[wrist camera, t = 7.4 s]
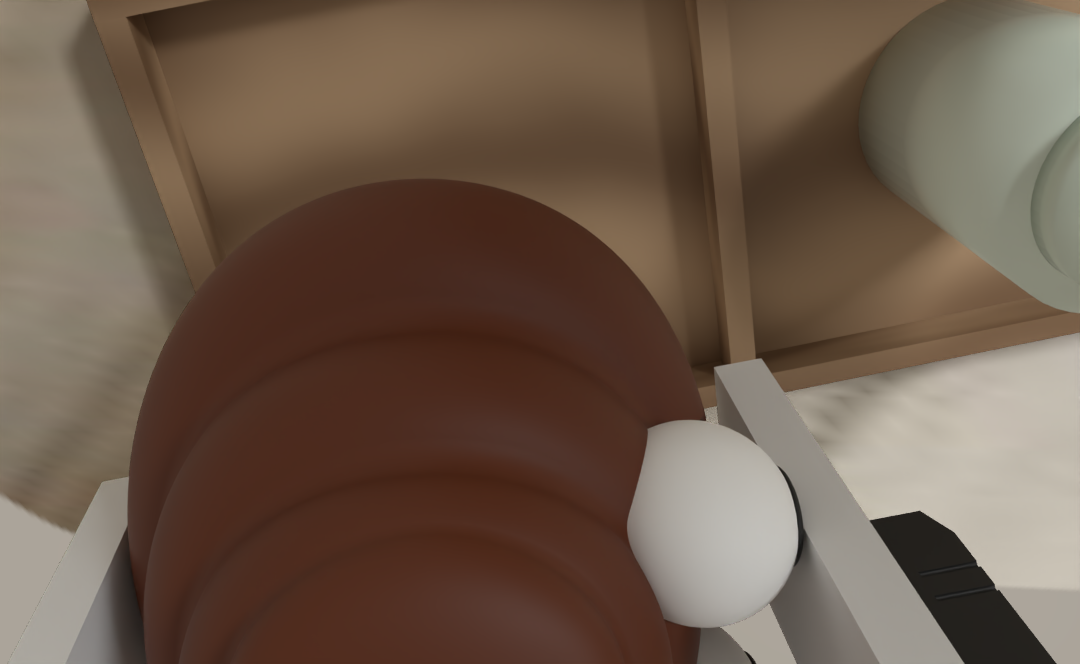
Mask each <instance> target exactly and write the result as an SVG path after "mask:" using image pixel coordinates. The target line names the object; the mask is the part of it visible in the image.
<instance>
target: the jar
mask: <svg viewBox="0 0 1080 664" xmlns="http://www.w3.org/2000/svg"><path fill="white" fill-rule="evenodd" d="M858 127H859V138H860V143H861V147H862V151H863V154H864V156H865V159H866V161H867V164H868V165H869V167H870V169H871V170H872V172H873V174H874V175H875V176H876V177H877V179H878V180H879V181H880V182H881V183H882V184H883V185H884V186H885V187H886V188H887V189H889V190H890V191H891V192H892V193H894V194H895V195H897V196H898V197H899V198H901V199H902V200H903V201H905V202H906V203H907V204H909V205H910V206H911V207H913V208H914V209H915V210H917V211H918V212H919V213H921V214H922V215H923V216H925V217H926V218H927V219H929V220H930V221H932V222H933V223H934V224H936V225H937V226H938V227H940V228H941V229H942V230H944V231H945V232H946V233H948V234H949V235H950V236H952V237H953V238H954V239H956V240H957V241H958V242H960V243H961V244H962V245H964V246H965V247H967V248H968V249H969V250H971V251H972V252H973V253H975V254H976V255H977V256H979V257H980V258H981V259H983V260H984V261H985V262H987V263H988V264H989V265H991V266H992V267H993V268H995V269H996V270H997V271H999V272H1000V273H1002V274H1003V275H1004V276H1006V277H1007V278H1008V279H1010V280H1011V281H1012V282H1014V283H1015V284H1016V285H1018V286H1019V287H1020V288H1022V289H1023V290H1024V291H1026V292H1027V293H1028V294H1030V295H1031V296H1033V297H1034V298H1036V299H1038V300H1039V301H1041V302H1042V303H1044V304H1047V305H1049V306H1051V307H1054V308H1056V309H1060V310H1064V311H1068V312H1073V313H1080V14H1077V13H1073V12H1069V11H1065V10H1061V9H1057V8H1053V7H1049V6H1045V5H1041V4H1037V3H1034V2H1030V1H1026V0H947V1H945V2H942V3H940V4H937V5H935V6H933V7H932V8H930V9H928V10H926V11H924V12H923V13H921V14H920V15H919V16H917V17H916V18H914V19H913V20H912V21H910V22H909V23H908V24H907V25H906V26H905V27H904V28H902V29H901V30H900V31H899V32H898V33H897V34H896V35H895V37H894V38H893V39H892V40H891V41H890V42H889V43H888V44H887V46H886V47H885V49H884V50H883V51H882V53H881V54H880V56H879V57H878V59H877V61H876V63H875V64H874V66H873V68H872V70H871V72H870V74H869V77H868V79H867V81H866V84H865V87H864V91H863V94H862V97H861V103H860V109H859V123H858Z"/></svg>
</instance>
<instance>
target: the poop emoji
mask: <svg viewBox="0 0 1080 664" xmlns="http://www.w3.org/2000/svg"><path fill="white" fill-rule="evenodd" d="M127 519H128V540H129V551H130V560H131V568H132V575H133V582H134V587H135V592H136V597H137V602H138V606H139V610H140V615H141V619H142V622H143V626H144V642H145V653H146V660H147V664H756V663H755V661H754V659H753V658H752V657H751V656H750V655H749V654H748V653H747V652H745V651H743V649H742V648H741V647H740V646H739V644H738V643H737V642H736V641H735V640H734V639H733V638H732V637H731V636H730V635H729V634H728V633H727V632H725V631H724V630H723V629H722V628H720V627H722V626H727V625H731V624H734V623H737V622H740V621H743V620H745V619H747V618H749V617H751V616H753V615H755V614H756V613H757V612H759V611H761V610H762V609H763V608H764V607H765V606H767V605H768V604H769V603H770V602H771V601H772V600H773V599H774V598H775V597H776V596H777V595H778V593H779V592H780V591H781V589H782V588H783V586H784V585H785V583H786V582H787V580H788V578H789V576H790V574H791V571H792V569H793V567H795V566H796V565H797V563H798V561H799V559H800V557H801V554H802V549H803V540H804V529H803V519H802V512H801V508H800V504H799V500H798V497H797V494H796V491H795V489H794V487H793V484H792V482H791V480H790V479H789V477H788V476H787V474H786V473H785V472H784V471H783V470H782V469H781V468H780V467H779V466H777V465H776V464H775V463H774V462H773V461H772V459H771V458H770V457H769V456H768V455H767V454H766V453H765V452H764V451H763V450H762V449H761V448H760V447H759V446H758V445H756V444H755V443H754V442H752V441H751V440H750V439H748V438H747V437H745V436H743V435H742V434H740V433H738V432H736V431H734V430H732V429H730V428H728V427H725V426H722V425H719V424H715V423H711V422H707V421H706V416H705V412H704V408H703V404H702V401H701V397H700V394H699V391H698V388H697V384H696V381H695V379H694V376H693V373H692V370H691V368H690V365H689V363H688V360H687V358H686V355H685V353H684V351H683V349H682V346H681V344H680V342H679V340H678V338H677V336H676V334H675V332H674V331H673V329H672V327H671V325H670V323H669V321H668V320H667V318H666V316H665V315H664V313H663V311H662V310H661V308H660V307H659V305H658V304H657V302H656V301H655V299H654V298H653V296H652V295H651V293H650V292H649V291H648V289H647V288H646V287H645V285H644V284H643V283H642V282H641V280H640V279H639V278H638V277H637V276H636V274H635V273H634V272H633V271H632V270H631V269H630V268H629V266H628V265H627V264H626V263H625V262H624V261H623V260H622V259H621V258H620V257H619V256H618V255H617V254H616V253H615V252H614V251H613V250H612V249H610V248H609V247H608V246H607V245H606V244H605V243H603V242H602V241H601V240H600V239H599V238H598V237H596V236H595V235H594V234H592V233H591V232H590V231H588V230H587V229H586V228H584V227H583V226H581V225H580V224H578V223H577V222H575V221H573V220H572V219H570V218H568V217H567V216H565V215H563V214H562V213H560V212H558V211H556V210H554V209H552V208H550V207H548V206H546V205H544V204H542V203H540V202H537V201H535V200H533V199H530V198H527V197H525V196H522V195H519V194H516V193H513V192H510V191H507V190H503V189H500V188H496V187H492V186H488V185H483V184H478V183H472V182H466V181H458V180H449V179H422V178H420V179H400V180H390V181H382V182H376V183H370V184H365V185H360V186H356V187H352V188H348V189H344V190H341V191H338V192H334V193H331V194H328V195H326V196H323V197H320V198H317V199H315V200H313V201H310V202H308V203H306V204H303V205H301V206H299V207H297V208H295V209H293V210H291V211H289V212H288V213H286V214H284V215H282V216H280V217H279V218H277V219H275V220H274V221H272V222H271V223H269V224H267V225H266V226H264V227H263V228H261V229H260V230H259V231H257V232H256V233H255V234H253V235H252V236H251V237H249V238H248V239H247V240H246V241H244V242H243V243H242V244H241V245H240V246H238V247H237V248H236V249H235V250H234V251H233V252H232V253H231V254H230V255H228V256H227V257H226V258H225V259H224V260H223V261H222V263H221V264H220V265H219V266H218V267H217V268H216V269H215V270H214V271H213V272H212V273H211V275H210V276H209V277H208V278H207V279H206V280H205V281H204V283H203V284H202V285H201V287H200V288H199V289H198V290H197V292H196V293H195V294H194V296H193V297H192V299H191V300H190V302H189V303H188V305H187V306H186V308H185V309H184V311H183V312H182V314H181V315H180V317H179V319H178V320H177V322H176V324H175V326H174V328H173V329H172V331H171V333H170V335H169V337H168V339H167V341H166V343H165V345H164V347H163V349H162V351H161V353H160V356H159V358H158V360H157V363H156V365H155V368H154V370H153V372H152V375H151V378H150V381H149V384H148V386H147V390H146V393H145V396H144V399H143V403H142V406H141V410H140V414H139V418H138V421H137V426H136V431H135V436H134V441H133V447H132V454H131V461H130V470H129V483H128V502H127Z"/></svg>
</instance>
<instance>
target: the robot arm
mask: <svg viewBox="0 0 1080 664" xmlns="http://www.w3.org/2000/svg"><path fill="white" fill-rule="evenodd" d="M714 375H715V387H716V399H717V411H718V423H719V425H722V426H725V427H728V428H730V429H732V430H734V431H736V432H738V433H740V434H742V435H743V436H745V437H747V438H748V439H750V440H751V441H752V442H754V443H755V444H756V445H758V446H759V447H760V448H761V449H762V450H763V451H764V452H765V453H766V454H767V455H768V456H769V457H770V458H771V459H772V461H773V462H774V463H775V464H776V465H777V466H779V467H780V468H781V469H782V470H783V471H784V472H785V473H786V474H787V476H788V477H789V479H790V480H791V482H792V484H793V487H794V489H795V491H796V494H797V497H798V500H799V504H800V508H801V512H802V519H803V529H804V540H803V549H802V554H801V557H800V559H799V561H798V563H797V565H796V566H795V567H793V569H792V571H791V574H790V576H789V578H788V580H787V582H786V583H785V585H784V586H783V588H782V589H781V591H780V592H779V593H778V595H777V596H776V597H775V598H774V599H773V600H772V601H771V602H770V603H769V604H770V606H771V608H772V610H773V612H774V614H775V616H776V619H777V621H778V623H779V625H780V628H781V630H782V632H783V634H784V636H785V639H786V641H787V643H788V645H789V647H790V649H791V651H792V654H793V656H794V658H795V660H796V663H797V664H1056V663H1055V661H1054V660H1053V659H1052V657H1051V656H1050V655H1049V654H1048V652H1047V651H1046V650H1045V648H1044V647H1043V646H1042V645H1041V643H1040V642H1039V641H1038V639H1037V638H1036V637H1035V636H1034V634H1033V633H1032V632H1031V631H1030V629H1029V628H1028V627H1027V625H1026V624H1025V623H1024V621H1023V620H1022V619H1021V618H1020V617H1019V615H1018V614H1017V613H1016V611H1015V610H1014V609H1013V607H1012V606H1011V605H1010V603H1009V602H1008V601H1007V600H1006V598H1005V597H1004V596H1003V594H1002V593H1001V592H1000V591H999V590H998V591H997V590H996V589H995V584H994V583H993V582H992V580H991V579H990V578H989V576H988V575H987V574H986V573H985V571H984V570H983V569H982V567H981V566H980V567H978V566H977V562H976V560H975V558H974V557H973V556H972V555H971V553H970V552H969V551H968V549H967V548H966V547H965V546H964V544H963V543H962V542H961V540H960V539H959V538H958V537H957V535H956V534H955V533H954V532H953V531H951V530H949V529H948V528H946V527H945V526H943V525H941V524H940V523H938V522H937V521H935V520H934V519H932V518H930V517H929V516H927V515H926V514H924V513H922V512H921V511H916V512H911V513H906V514H901V515H896V516H890V517H885V518H880V519H875V520H870V521H869V519H868V518H867V516H866V515H865V513H864V512H863V510H862V509H861V507H860V506H859V504H858V503H857V501H856V500H855V498H854V497H853V495H852V494H851V492H850V491H849V489H848V488H847V486H846V485H845V483H844V482H843V480H842V479H841V477H840V476H839V474H838V473H837V471H836V470H835V468H834V467H833V465H832V464H831V462H830V461H829V459H828V458H827V456H826V455H825V453H824V452H823V450H822V449H821V447H820V446H819V444H818V443H817V441H816V440H815V438H814V437H813V435H812V434H811V432H810V431H809V429H808V428H807V426H806V425H805V423H804V422H803V420H802V419H801V417H800V416H799V414H798V413H797V411H796V410H795V408H794V407H793V405H792V404H791V402H790V401H789V399H788V398H787V396H786V394H785V393H784V391H783V390H782V388H781V387H780V385H779V384H778V382H777V381H776V379H775V378H774V376H773V375H772V373H771V372H770V370H769V369H768V367H767V366H766V364H765V363H764V361H763V360H762V358H760V359H754V360H749V361H744V362H738V363H733V364H728V365H722V366H717V367H714ZM128 483H129V477H125V478H119V479H114V480H109V481H103V482H102V483H101V485H100V487H99V489H98V491H97V492H96V494H95V496H94V498H93V500H92V502H91V504H90V506H89V508H88V510H87V512H86V514H85V516H84V517H83V519H82V521H81V523H80V525H79V527H78V529H77V531H76V533H75V535H74V537H73V539H72V541H71V543H70V544H69V547H68V549H67V550H66V552H65V554H64V556H63V558H62V560H61V562H60V564H59V565H58V567H57V569H56V571H55V573H54V575H53V577H52V579H51V581H50V583H49V585H48V587H47V588H46V590H45V592H44V594H43V596H42V598H41V600H40V602H39V604H38V606H37V608H36V610H35V612H34V614H33V615H32V618H31V619H30V621H29V623H28V625H27V627H26V629H25V631H24V633H23V635H22V636H21V638H20V640H19V642H18V644H17V646H16V648H15V650H14V652H13V654H12V656H11V658H10V660H9V661H8V663H7V664H147V660H146V653H145V642H144V626H143V622H142V619H141V615H140V610H139V606H138V602H137V597H136V592H135V587H134V582H133V575H132V568H131V560H130V551H129V540H128V519H127V502H128Z"/></svg>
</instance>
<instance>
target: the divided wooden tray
mask: <svg viewBox="0 0 1080 664" xmlns="http://www.w3.org/2000/svg"><path fill="white" fill-rule="evenodd" d="M86 1H87V4H88V7H89V9H90V12H91V15H92V17H93V20H94V23H95V25H96V28H97V31H98V33H99V36H100V39H101V41H102V44H103V47H104V49H105V52H106V55H107V57H108V60H109V63H110V66H111V68H112V71H113V74H114V76H115V79H116V82H117V84H118V87H119V90H120V92H121V95H122V98H123V100H124V103H125V106H126V108H127V111H128V114H129V116H130V119H131V122H132V124H133V127H134V130H135V133H136V135H137V138H138V141H139V143H140V146H141V149H142V151H143V154H144V157H145V159H146V162H147V165H148V167H149V170H150V173H151V175H152V178H153V181H154V183H155V186H156V189H157V191H158V194H159V197H160V200H161V202H162V205H163V208H164V210H165V213H166V216H167V218H168V221H169V224H170V226H171V229H172V232H173V234H174V237H175V240H176V242H177V245H178V248H179V250H180V253H181V256H182V258H183V261H184V264H185V267H186V269H187V272H188V275H189V277H190V280H191V283H192V285H193V288H194V291H195V293H196V292H197V290H198V289H199V288H200V287H201V285H202V284H203V283H204V281H205V280H206V279H207V278H208V277H209V276H210V275H211V273H212V272H213V271H214V270H215V269H216V268H217V267H218V266H219V265H220V264H221V263H222V261H223V260H224V259H225V258H226V257H227V256H228V255H230V254H231V253H232V252H233V251H234V250H235V249H236V248H237V247H238V246H240V245H241V244H242V243H243V242H244V241H246V240H247V239H248V238H249V237H251V236H252V235H253V234H255V233H256V232H257V231H259V230H260V229H261V228H263V227H264V226H266V225H267V224H269V223H271V222H272V221H274V220H275V219H277V218H279V217H280V216H282V215H284V214H286V213H288V212H289V211H291V210H293V209H295V208H297V207H299V206H301V205H303V204H306V203H308V202H310V201H313V200H315V199H317V198H320V197H323V196H326V195H328V194H331V193H334V192H338V191H341V190H344V189H348V188H352V187H356V186H360V185H365V184H370V183H376V182H382V181H390V180H400V179H420V178H422V179H449V180H458V181H466V182H472V183H478V184H483V185H488V186H492V187H496V188H500V189H503V190H507V191H510V192H513V193H516V194H519V195H522V196H525V197H527V198H530V199H533V200H535V201H537V202H540V203H542V204H544V205H546V206H548V207H550V208H552V209H554V210H556V211H558V212H560V213H562V214H563V215H565V216H567V217H568V218H570V219H572V220H573V221H575V222H577V223H578V224H580V225H581V226H583V227H584V228H586V229H587V230H588V231H590V232H591V233H592V234H594V235H595V236H596V237H598V238H599V239H600V240H601V241H602V242H603V243H605V244H606V245H607V246H608V247H609V248H610V249H612V250H613V251H614V252H615V253H616V254H617V255H618V256H619V257H620V258H621V259H622V260H623V261H624V262H625V263H626V264H627V265H628V266H629V268H630V269H631V270H632V271H633V272H634V273H635V274H636V276H637V277H638V278H639V279H640V280H641V282H642V283H643V284H644V285H645V287H646V288H647V289H648V291H649V292H650V293H651V295H652V296H653V298H654V299H655V301H656V302H657V304H658V305H659V307H660V308H661V310H662V311H663V313H664V315H665V316H666V318H667V320H668V321H669V323H670V325H671V327H672V329H673V331H674V332H675V334H676V336H677V338H678V340H679V342H680V344H681V346H682V349H683V351H684V353H685V355H686V358H687V360H688V363H689V365H690V368H691V370H692V373H693V376H694V379H695V381H696V384H697V388H698V391H699V394H700V397H701V401H702V404H703V408H709V407H714V406H717V399H716V387H715V375H714V367H717V366H722V365H728V364H733V363H738V362H744V361H749V360H754V359H760V358H762V360H763V361H764V363H765V364H766V366H767V367H768V369H769V370H770V372H771V373H772V375H773V376H774V378H775V379H776V381H777V382H778V384H779V385H780V387H781V388H782V390H783V391H784V392H788V391H793V390H798V389H803V388H808V387H813V386H817V385H822V384H827V383H832V382H837V381H842V380H847V379H852V378H857V377H862V376H867V375H872V374H876V373H881V372H886V371H891V370H896V369H901V368H906V367H911V366H916V365H921V364H926V363H931V362H935V361H940V360H945V359H950V358H955V357H960V356H965V355H970V354H975V353H980V352H985V351H990V350H994V349H999V348H1004V347H1009V346H1014V345H1019V344H1024V343H1029V342H1034V341H1039V340H1044V339H1048V338H1053V337H1058V336H1063V335H1068V334H1073V333H1078V332H1080V313H1073V312H1068V311H1064V310H1060V309H1056V308H1054V307H1051V306H1049V305H1047V304H1044V303H1042V302H1041V301H1039V300H1038V299H1036V298H1034V297H1033V296H1031V295H1030V294H1028V293H1027V292H1026V291H1024V290H1023V289H1022V288H1020V287H1019V286H1018V285H1016V284H1015V283H1014V282H1012V281H1011V280H1010V279H1008V278H1007V277H1006V276H1004V275H1003V274H1002V273H1000V272H999V271H997V270H996V269H995V268H993V267H992V266H991V265H989V264H988V263H987V262H985V261H984V260H983V259H981V258H980V257H979V256H977V255H976V254H975V253H973V252H972V251H971V250H969V249H968V248H967V247H965V246H964V245H962V244H961V243H960V242H958V241H957V240H956V239H954V238H953V237H952V236H950V235H949V234H948V233H946V232H945V231H944V230H942V229H941V228H940V227H938V226H937V225H936V224H934V223H933V222H932V221H930V220H929V219H927V218H926V217H925V216H923V215H922V214H921V213H919V212H918V211H917V210H915V209H914V208H913V207H911V206H910V205H909V204H907V203H906V202H905V201H903V200H902V199H901V198H899V197H898V196H897V195H895V194H894V193H892V192H891V191H890V190H889V189H887V188H886V187H885V186H884V185H883V184H882V183H881V182H880V181H879V180H878V179H877V177H876V176H875V175H874V174H873V172H872V170H871V169H870V167H869V165H868V164H867V161H866V159H865V156H864V154H863V151H862V147H861V143H860V138H859V127H858V123H859V109H860V103H861V97H862V94H863V91H864V87H865V84H866V81H867V79H868V77H869V74H870V72H871V70H872V68H873V66H874V64H875V63H876V61H877V59H878V57H879V56H880V54H881V53H882V51H883V50H884V49H885V47H886V46H887V44H888V43H889V42H890V41H891V40H892V39H893V38H894V37H895V35H896V34H897V33H898V32H899V31H900V30H901V29H902V28H904V27H905V26H906V25H907V24H908V23H909V22H910V21H912V20H913V19H914V18H916V17H917V16H919V15H920V14H921V13H923V12H924V11H926V10H928V9H930V8H932V7H933V6H935V5H937V4H940V3H942V2H945V1H947V0H86ZM1026 1H1030V2H1034V3H1037V4H1041V5H1045V6H1049V7H1053V8H1057V9H1061V10H1065V11H1069V12H1073V13H1077V14H1080V0H1026Z"/></svg>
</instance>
